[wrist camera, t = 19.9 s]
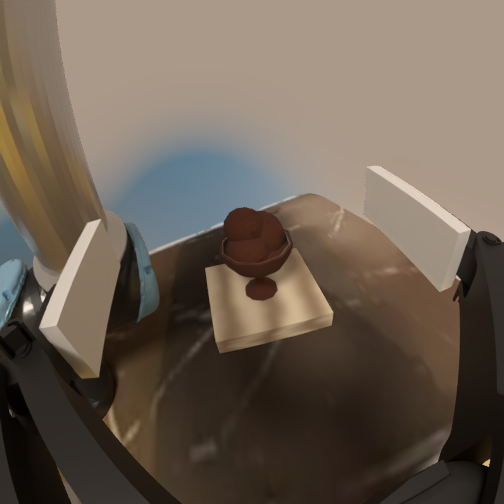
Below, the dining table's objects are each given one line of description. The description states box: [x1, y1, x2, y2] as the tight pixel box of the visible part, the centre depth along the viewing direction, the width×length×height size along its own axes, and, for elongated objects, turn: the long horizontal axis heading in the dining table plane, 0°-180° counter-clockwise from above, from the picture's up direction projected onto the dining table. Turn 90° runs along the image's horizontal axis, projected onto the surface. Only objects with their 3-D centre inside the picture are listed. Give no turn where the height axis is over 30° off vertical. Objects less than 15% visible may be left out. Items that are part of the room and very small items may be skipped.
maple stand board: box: [205, 248, 333, 353], centre depth 49 cm, size 18×18×3 cm
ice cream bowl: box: [220, 207, 293, 301], centre depth 44 cm, size 11×11×15 cm
